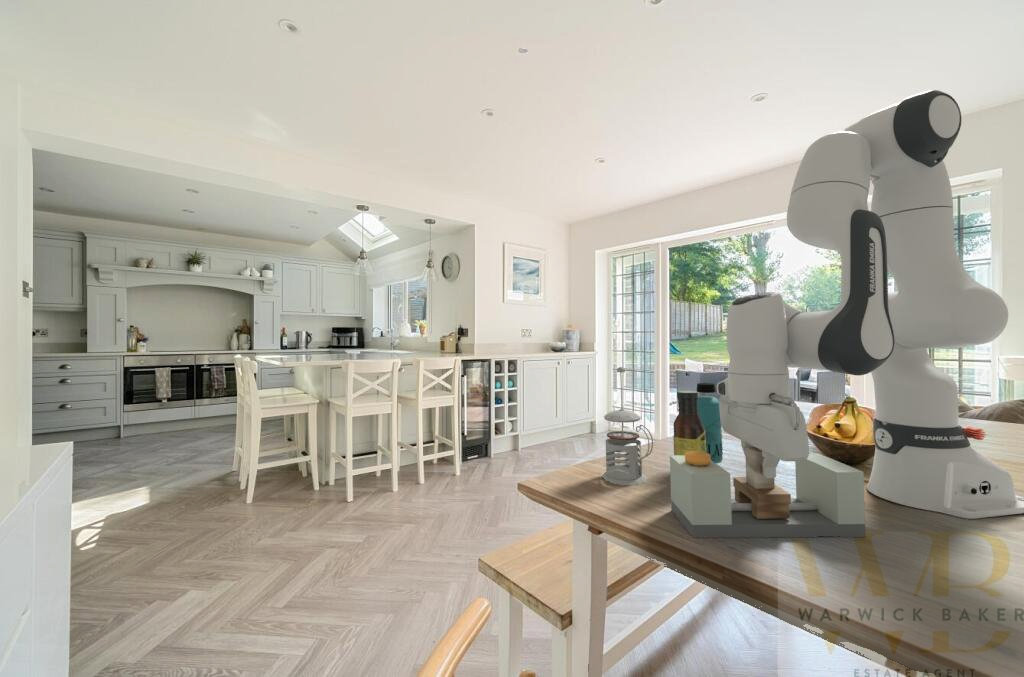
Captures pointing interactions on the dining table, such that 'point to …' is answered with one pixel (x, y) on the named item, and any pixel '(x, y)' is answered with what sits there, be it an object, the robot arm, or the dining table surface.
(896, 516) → the dining table surface
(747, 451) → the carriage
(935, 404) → the robot arm
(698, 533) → the rail bench
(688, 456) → the button
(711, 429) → the beverage bottle
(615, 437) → the french press
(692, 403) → the sauce bottle
